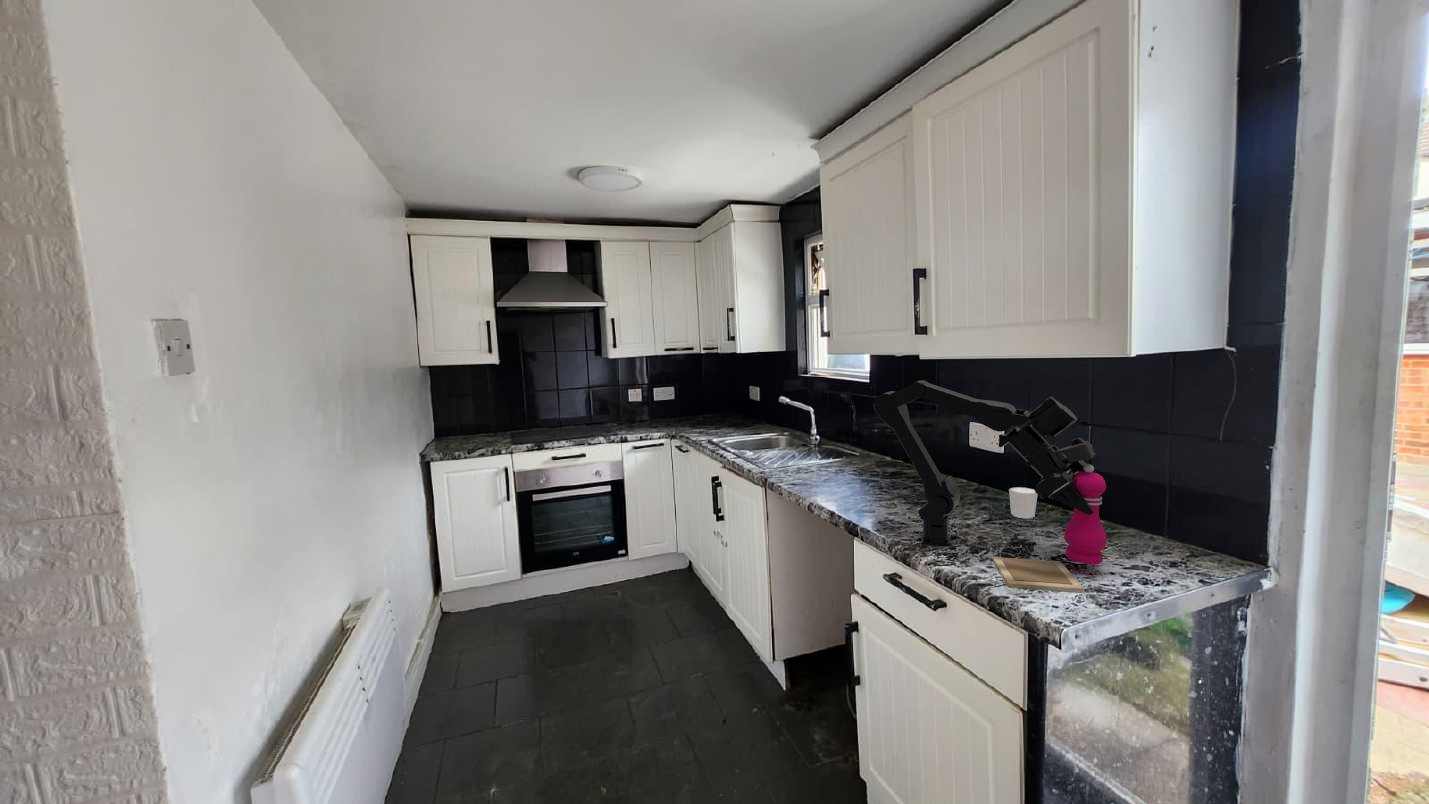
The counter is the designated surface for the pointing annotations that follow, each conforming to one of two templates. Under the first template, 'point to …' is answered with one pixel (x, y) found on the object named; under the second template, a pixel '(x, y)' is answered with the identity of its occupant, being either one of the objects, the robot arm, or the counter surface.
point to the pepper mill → (1087, 521)
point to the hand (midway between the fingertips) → (1094, 510)
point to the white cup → (1023, 502)
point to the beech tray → (1037, 574)
